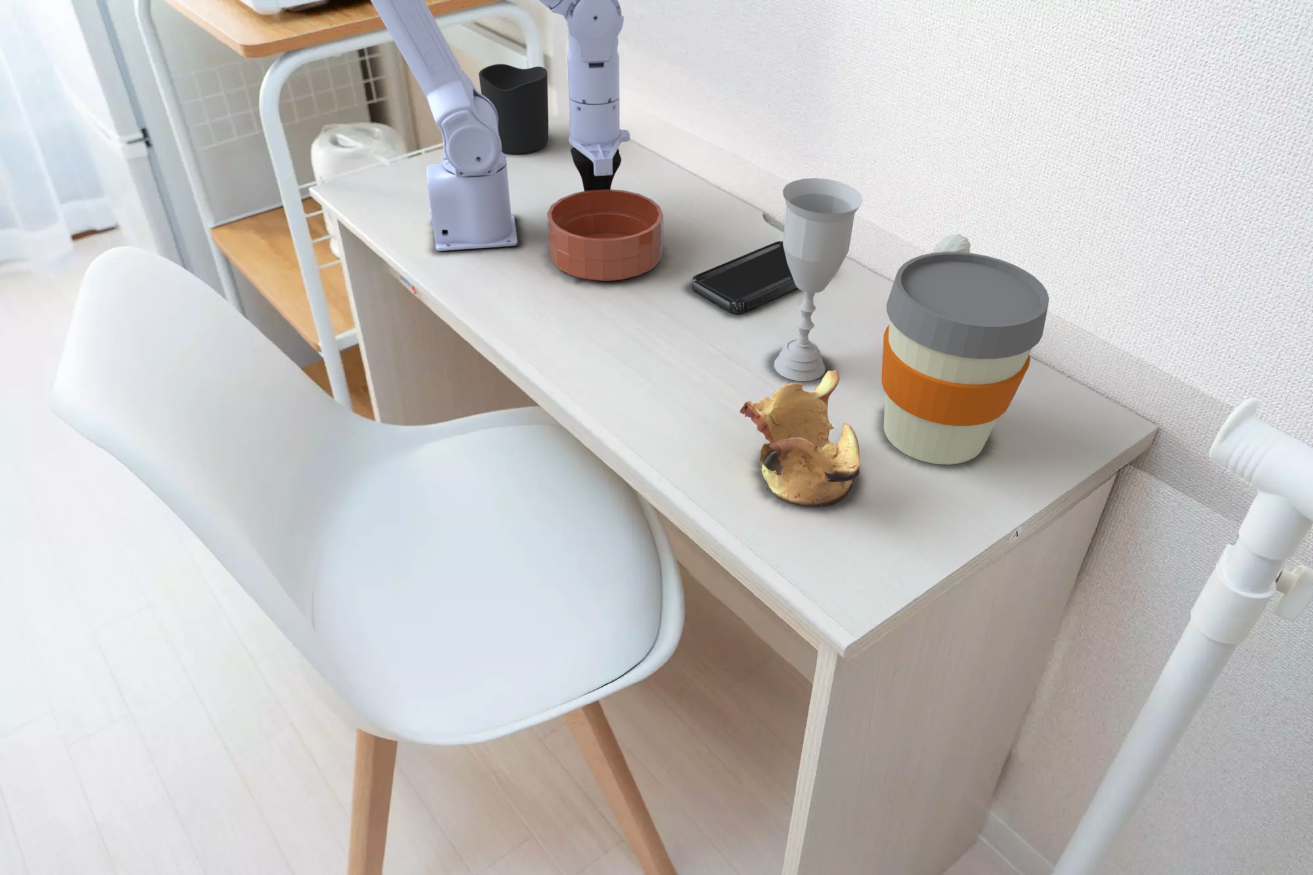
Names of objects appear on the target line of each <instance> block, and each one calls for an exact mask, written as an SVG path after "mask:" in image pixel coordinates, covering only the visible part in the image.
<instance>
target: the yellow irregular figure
mask: <svg viewBox="0 0 1313 875" xmlns="http://www.w3.org/2000/svg"><path fill="white" fill-rule="evenodd" d="M839 382H840V373H839V371H838V370H837V369H834V370H827V372H826V373H825V374H824V376H823V377H822V379H821V382H820V383H819V385H817V386H816V387H815V390H814V391H807V390H804V389H803V385H804V384H803V383H802V382H801V381H798V382H790V383H787V384H784V385H782V386H780V388H778V389H777V390H775V391H773V392H772V393H771V395H772V397H771V398H770V397H763V399H761V400H758V401H757V402H754V403H753V401H751V400H748V401H746V402H744V403H743V406H742V407H741V408H740V409H739V413H740V414H742V415H744V418H746V417H748V418H749V419H750V420H751V422H752V423H754V424H755V425H756V430H757V431H758V432H760V433H762V434H763V435H764V438H765V440H767V441H768V442H769V443H763V444H762V447H761V449H760V458H759V460H760V462H761V468H759V470H760V471H761V474H762V478H763V480H764V482H765V483H766V485H767V486H768V487H765V489H766V491H768V490H769V489H770V491H771V492H772V493H773V494H774V495H775V496H776V497H777V499H778V498H780V500H783V501H785V502H787V503H789V504H794V505H800V506H803V507H813V508H814V507H818V508H820V507H831V506H834V505H836V504H840V503H841V502H842V501H843V500H844V499H846V498H847V497H849V493H851V491H852V489H853V487H854V485H853V484H854V483H853V482H854V480H855V479H856V478H857V477H858V476H860V469H861V465H862V464H861V456H860V445H859V440H858V437H857V434H856V431H855V430H854V428H853V427H852V426H851V425H849V424H848V423H846V422H844V423H843V425H842V429H841V430H842V431H841V435H840V437H839V439H838V443H832V442H831V441H830V438H829V437H830V431H831V430H833V429H834V428H835V427H834V426H833V425H832V423H831V422H830V420H829V415H828V410H829V409H828V408H829V399H830V396H831V395H832V393H833V392H834V391H835V390H836V388H837V386H838V384H839ZM773 452H775V453H776V459H777V461H778V462H780V466H781V473H780V475H779V474H778V471H777V470H771V469H769V468H768V467H767V465H766V464H765V461H766V460H767V458H768V457H769V456H770V455H771V454H772V453H773Z"/></svg>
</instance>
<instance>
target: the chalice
mask: <svg viewBox="0 0 1313 875" xmlns="http://www.w3.org/2000/svg"><path fill="white" fill-rule="evenodd" d="M782 196H783V199H784V201H785V204H786V211H785V218H784V219H785V220H784V228H783V237H782V241H783V247H784V251H785V255H786V259H787V264H788V266H789V269H790V272H791V274H792V277H793V279H794V282H795V284H796V286H797V288H796V289H799V291H802V292H803V299H802V302H801V303H800V304H799V306H798V308H799V310H800V312H801V316H800V318H799V319H798V320H797V321H796V322H795V325H796V326H797V328H798V337H797V338H796V339H793V340H790V341H788V342H787V343H786V344H784V346H783V347H782V350H780V352H779V354H778V356H777V357H776V358H775V360H774V362H773V368H774V370H775V372H777V374H779V375H780V376H781V377H783V378H786V379H788V380H791V381H795V382H810V381H811V382H812V381H814V380H818V379H819V378H821V377H822V376H823V375H825V372H826V365H825V364H824V362H823V357H822V355H821V350H820V348H819V347H818V345H817V344H816V343H815V342H813V341H811V340H809V335H810V331H811V330H812V329H814V328H815V323H814V322H813V321H812V315H813V313H814V312H815V311H816V309H817V307H816V306H815V304H814V303H815V302H814V297H815V294H818V293H821V292H824V290H825V289H826V288H827V286H828V285H829V284H830V282H831V281H832V280H833V278H834V277H835V276H836V274H838V272H839V270H840V268H841V266H842V264H843V263H844V261H845V260H846V258H847V255H848V254H849V251H850V245H851V239H852V233H853V227H854V221H855V215H856V212H858V210H859V208H860V207H861V205H862V203H863V201H864V200H863V195H862V194H861V193H860V192H859V191H858V190H857V189H856V188H855V187H853V186H851V185H849V184H847V183H844V182H841V181H837V180H834V179H829V178H818V177H810V178H801V179H797V180H793V181H791V182H789V183H787V184H786V185H785V186H784V187H783V189H782Z"/></svg>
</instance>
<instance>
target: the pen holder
mask: <svg viewBox="0 0 1313 875" xmlns="http://www.w3.org/2000/svg"><path fill="white" fill-rule="evenodd" d="M478 79H479V87H480V93H481V94H482V95H483V96H485V97H486V98H488V99H489V100H490V101H491V102H492V104H493V105H494V107H495V109H496V111H497V114H498V132H499V136H500V140H501V145H502V152H503V153H504V154H508V155H509V154H510V155H524V154H531V153H534V152H538V151H540V150H542V149H543V148H546V146H547V144H548V143H549V84H548V82H549V81H548V80H549V79H548V70H547V69H546V68H545V67H543V66H533V67H529V68H519V67H515V66H513V65H509V64H506V63H494V64H490V65H487V66H486V67H483V68H482V69H481V70H479V72H478Z"/></svg>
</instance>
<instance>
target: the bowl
mask: <svg viewBox="0 0 1313 875" xmlns="http://www.w3.org/2000/svg"><path fill="white" fill-rule="evenodd" d="M546 218H547V221H546V222H547V234H548V236H547V237H548V250H549V258H550V261H551V262H552V264H554V265H555V267H556V268H557V269H559V270H560V271H563V272H564V273H566V274H568V275H570V276H574V277H577V278H581V279H585V280H589V281H590V280H591V281H598V282H599V281H600V282H610V281H611V282H613V281H622V280H626V279H630V278H633V277H637V276H641V275H642V274H645V273H647V272H649V271H651V270H652V269H654V268H655V267H656V266H657V265H658V264H659V263H660V262H661V259H662V256H663V244H664V243H663V242H664V241H663V240H664V239H663V238H664V235H663V233H664V213H663V211H662V208H661V206H660V205H659V204H658V203H657V202H656V201H655V200H653V199H651V198H650V197H648V196H646V195H643V194H640V193H638V192H632V191H628V190H624V189H623V190H622V189H612V188H611V189H600V190H588V191H584V190H583V191H578V192H573V193H570V194H568V195H566V196H563V197H560V198H559V199H557V200H556V201H555V202H553V203H552V204H551V206H550V207H549V209H548V211H547V213H546Z"/></svg>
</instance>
